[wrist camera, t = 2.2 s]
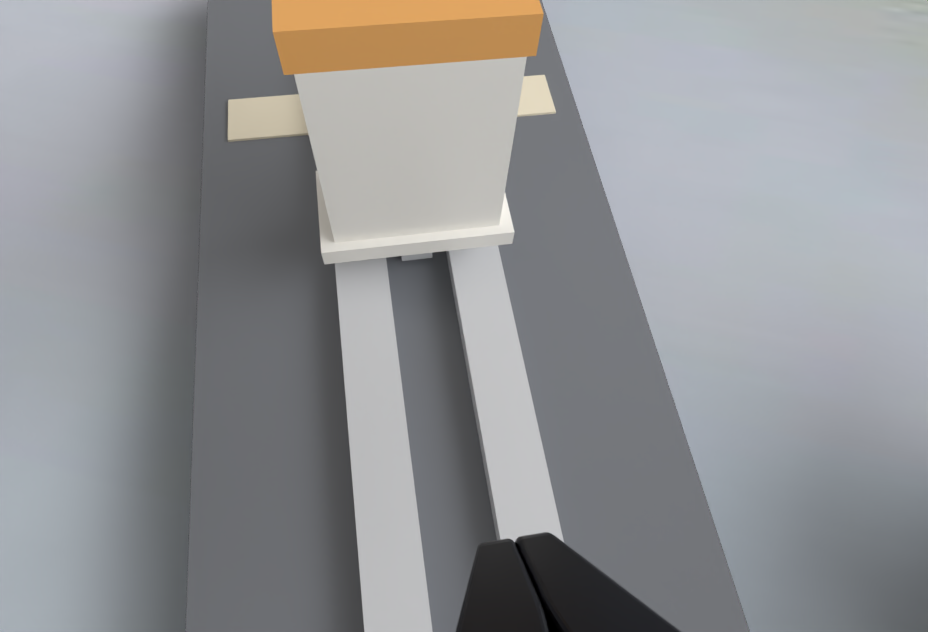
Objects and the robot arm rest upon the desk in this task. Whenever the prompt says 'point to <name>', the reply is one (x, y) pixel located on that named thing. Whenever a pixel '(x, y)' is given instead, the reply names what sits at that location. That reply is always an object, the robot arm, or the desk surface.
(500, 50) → the fader lever
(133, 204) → the desk surface
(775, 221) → the desk surface
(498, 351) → the fader console
